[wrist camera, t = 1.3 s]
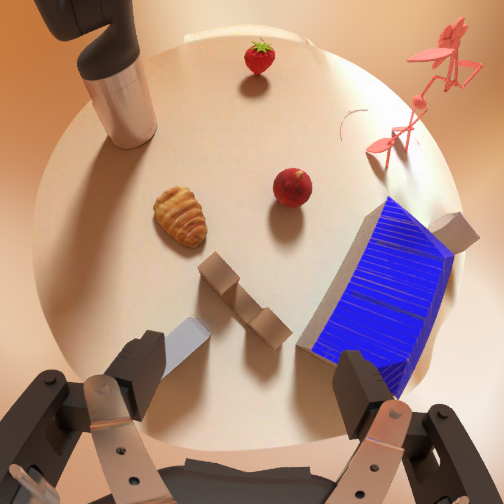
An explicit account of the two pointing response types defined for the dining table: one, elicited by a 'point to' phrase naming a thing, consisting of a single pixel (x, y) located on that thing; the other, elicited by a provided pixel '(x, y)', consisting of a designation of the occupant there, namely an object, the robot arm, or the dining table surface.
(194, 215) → the pastry
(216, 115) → the dining table surface
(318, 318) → the house
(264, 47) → the strawberry
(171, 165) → the dining table surface
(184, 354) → the grey notched square slab
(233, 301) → the walnut blocks
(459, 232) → the grey house-shaped block
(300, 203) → the onion
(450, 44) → the figurine
